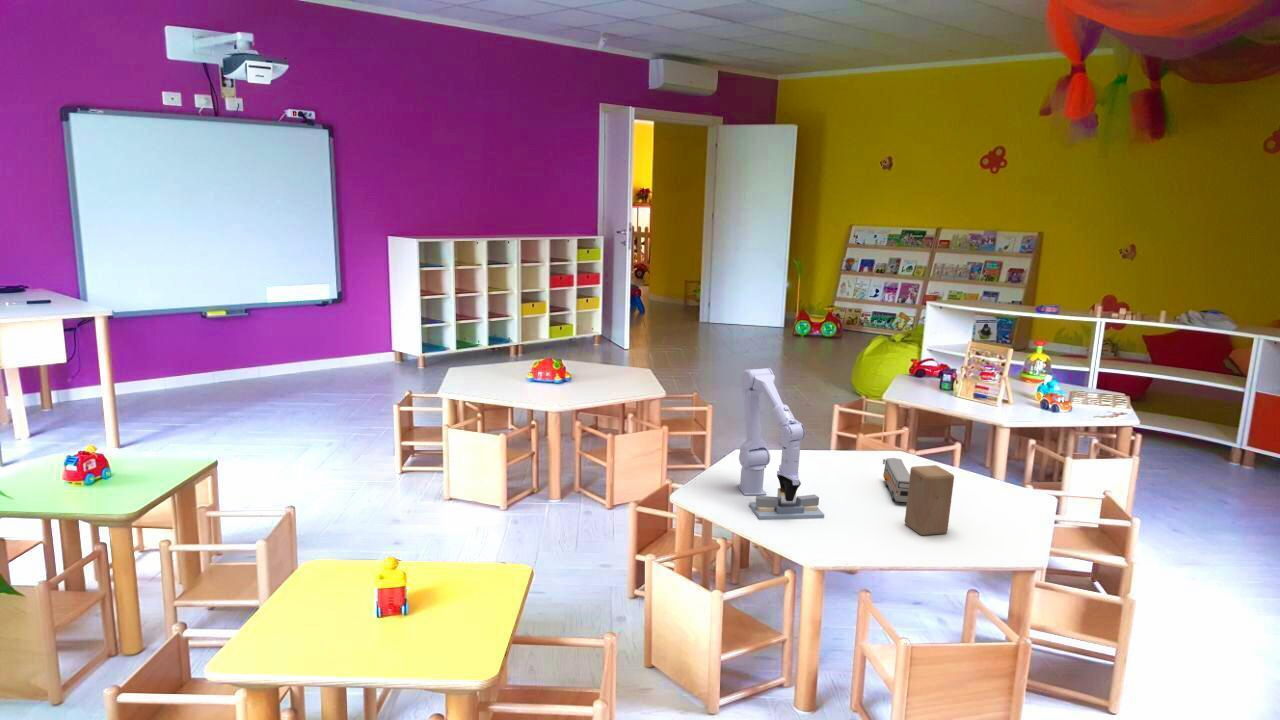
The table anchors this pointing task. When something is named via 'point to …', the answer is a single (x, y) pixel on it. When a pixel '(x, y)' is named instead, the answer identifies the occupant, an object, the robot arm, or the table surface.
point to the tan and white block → (782, 499)
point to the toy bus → (896, 479)
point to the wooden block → (929, 499)
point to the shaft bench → (786, 508)
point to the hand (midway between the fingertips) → (787, 498)
